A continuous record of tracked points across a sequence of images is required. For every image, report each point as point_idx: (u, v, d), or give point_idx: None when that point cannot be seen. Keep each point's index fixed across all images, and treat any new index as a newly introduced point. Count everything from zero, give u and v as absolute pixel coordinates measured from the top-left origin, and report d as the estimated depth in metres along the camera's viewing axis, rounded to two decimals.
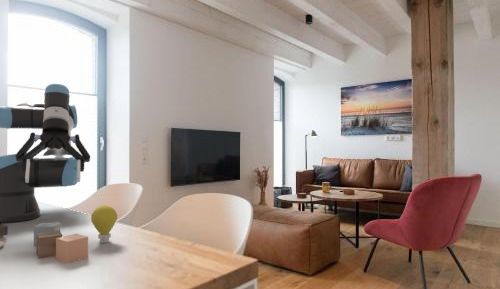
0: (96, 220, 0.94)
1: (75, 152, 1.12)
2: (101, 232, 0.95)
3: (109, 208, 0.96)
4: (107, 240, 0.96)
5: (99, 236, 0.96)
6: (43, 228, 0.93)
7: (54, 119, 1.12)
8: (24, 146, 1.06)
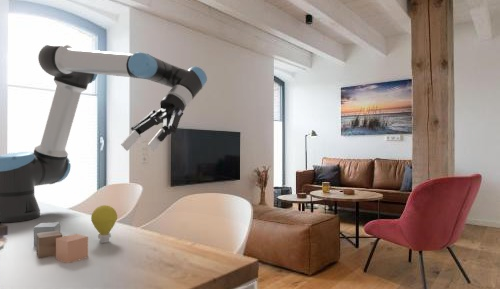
0: (96, 220, 0.94)
1: None
2: (101, 232, 0.95)
3: (109, 208, 0.96)
4: (107, 240, 0.96)
5: (99, 236, 0.96)
6: (43, 228, 0.93)
7: None
8: None
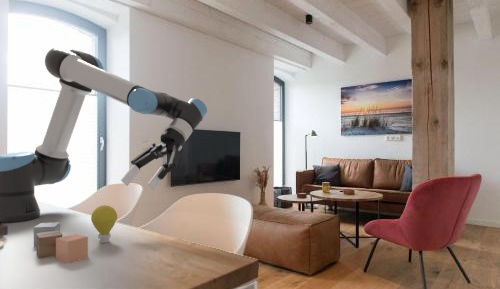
0: (96, 220, 0.94)
1: None
2: (101, 232, 0.95)
3: (109, 208, 0.96)
4: (107, 240, 0.96)
5: (99, 236, 0.96)
6: (43, 228, 0.93)
7: None
8: None
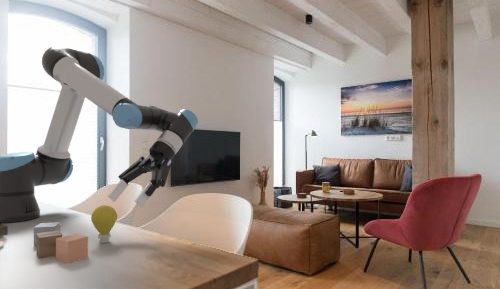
0: (96, 220, 0.94)
1: None
2: (101, 232, 0.95)
3: (109, 208, 0.96)
4: (107, 240, 0.96)
5: (99, 236, 0.96)
6: (43, 228, 0.93)
7: None
8: None
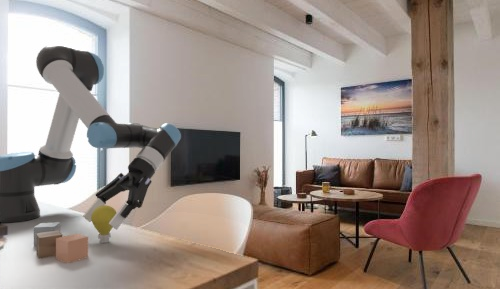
0: (96, 220, 0.94)
1: None
2: (101, 232, 0.95)
3: (109, 208, 0.96)
4: (107, 240, 0.96)
5: (99, 236, 0.96)
6: (43, 228, 0.93)
7: None
8: None
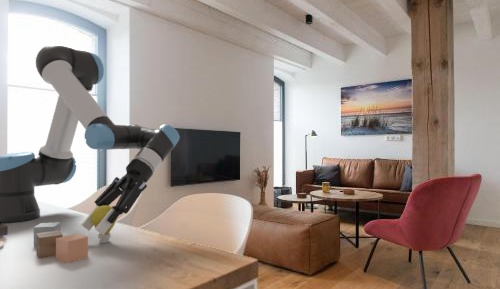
0: (96, 220, 0.94)
1: None
2: None
3: (109, 208, 0.96)
4: (107, 240, 0.96)
5: (99, 236, 0.96)
6: (43, 228, 0.93)
7: None
8: None
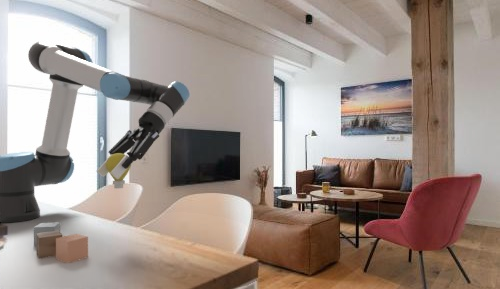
0: (111, 165, 0.97)
1: None
2: None
3: (123, 155, 0.99)
4: (121, 186, 1.00)
5: (114, 182, 0.99)
6: (43, 228, 0.93)
7: None
8: None
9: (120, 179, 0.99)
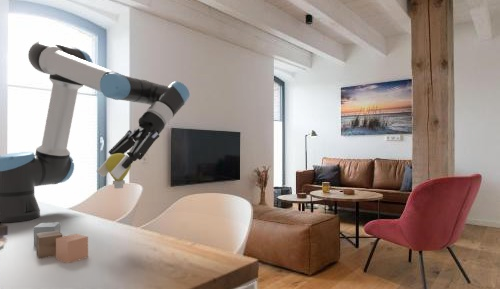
0: (111, 165, 0.97)
1: None
2: None
3: (123, 155, 0.99)
4: (121, 186, 1.00)
5: (114, 182, 0.99)
6: (43, 228, 0.93)
7: None
8: None
9: (120, 179, 0.99)
